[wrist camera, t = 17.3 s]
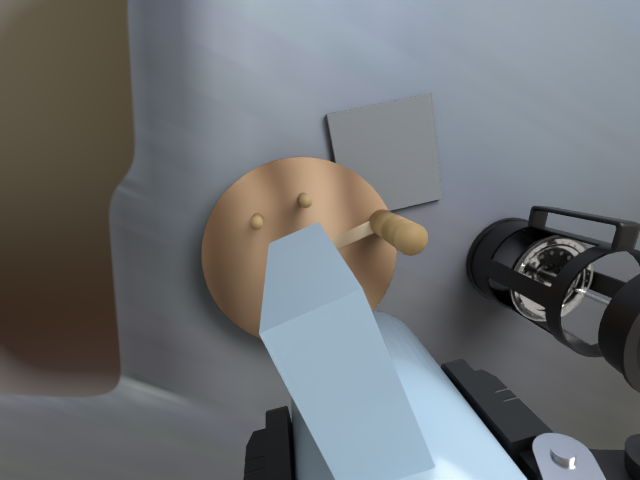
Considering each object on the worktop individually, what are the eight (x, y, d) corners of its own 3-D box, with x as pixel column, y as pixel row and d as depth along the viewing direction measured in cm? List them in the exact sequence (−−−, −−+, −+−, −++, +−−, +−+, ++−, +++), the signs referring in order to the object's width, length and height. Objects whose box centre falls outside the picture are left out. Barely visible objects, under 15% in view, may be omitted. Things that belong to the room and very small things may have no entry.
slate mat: (439, 197, 34) (442, 198, 34) (345, 219, 34) (346, 220, 33) (428, 94, 32) (431, 93, 31) (325, 114, 31) (326, 114, 30)
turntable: (354, 124, 30) (385, 112, 22) (416, 291, 35) (460, 331, 27) (167, 206, 30) (129, 225, 22) (256, 365, 35) (253, 429, 27)
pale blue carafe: (439, 397, 15) (675, 744, 6) (321, 450, 15) (385, 882, 6) (363, 195, 12) (576, 285, 4) (220, 257, 12) (73, 509, 3)
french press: (533, 304, 39) (872, 495, 17) (458, 304, 38) (725, 511, 16) (557, 204, 37) (994, 276, 15) (477, 199, 35) (831, 270, 13)
